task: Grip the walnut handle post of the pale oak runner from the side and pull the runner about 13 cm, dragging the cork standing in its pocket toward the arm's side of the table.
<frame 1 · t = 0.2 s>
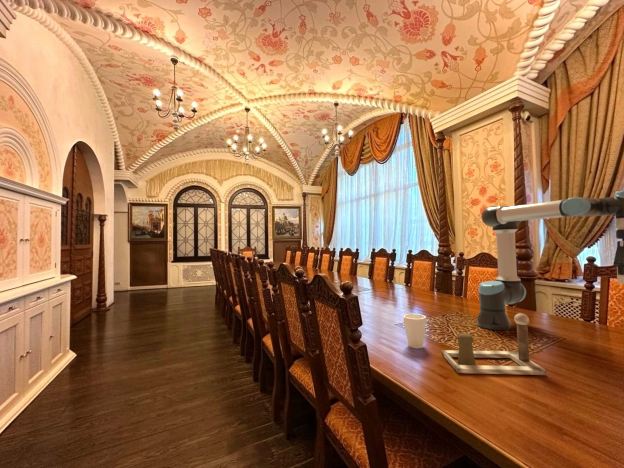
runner: (487, 338, 105), point 9 cm above the table, slide at 0.0 cm
foam cup: (415, 346, 125), on the table
cork: (466, 364, 105), resting in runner
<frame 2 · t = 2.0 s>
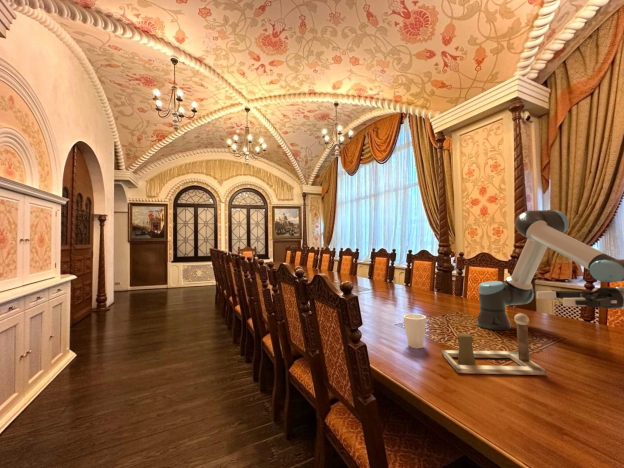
hand: (549, 298, 103), 24 cm above the table, tool horizontal, fingers open, 13 cm apart
nothing on the table moved.
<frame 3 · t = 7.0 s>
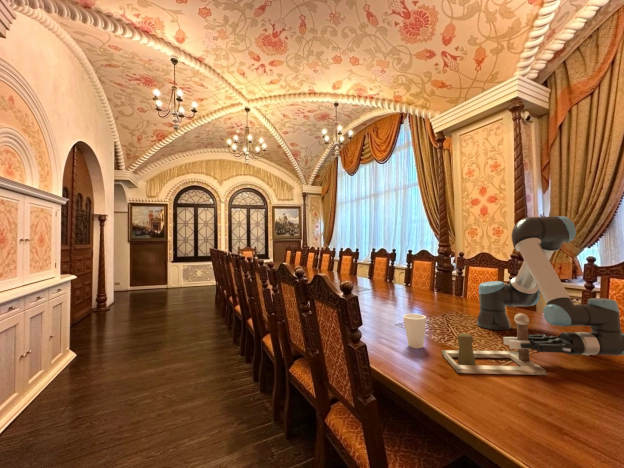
hand: (507, 342, 104), 8 cm above the table, tool horizontal, fingers closed on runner, 3 cm apart
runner: (487, 338, 105), point 10 cm above the table, slide at 0.0 cm, touching gripper
everything else where it was.
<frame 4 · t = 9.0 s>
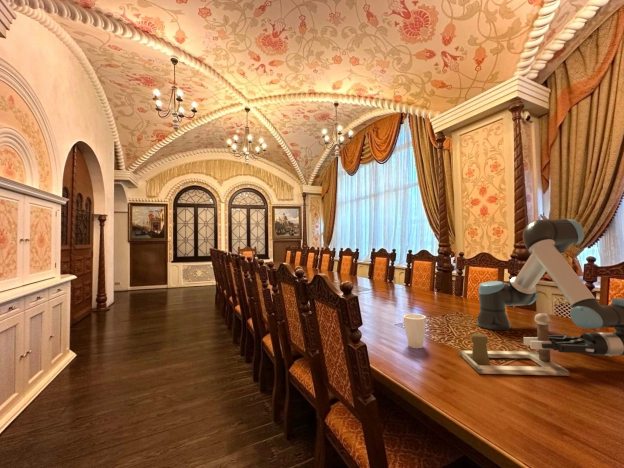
hand: (527, 342, 103), 8 cm above the table, tool horizontal, fingers closed on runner, 3 cm apart
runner: (507, 338, 104), point 9 cm above the table, slide at 6.9 cm, touching gripper, cork
cork: (480, 364, 105), resting in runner
everything else where it was.
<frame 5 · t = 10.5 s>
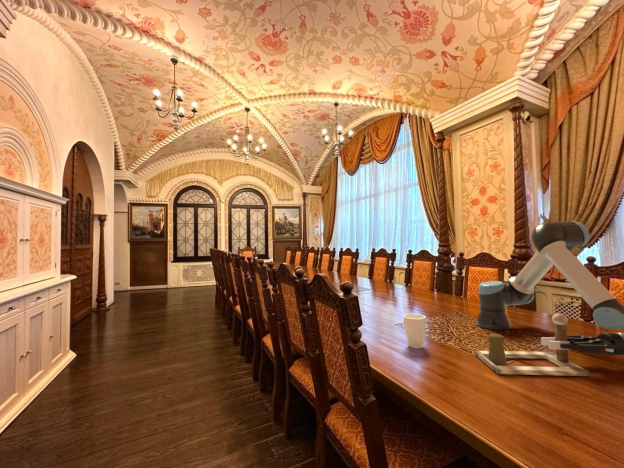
hand: (545, 343, 102), 8 cm above the table, tool horizontal, fingers closed on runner, 3 cm apart
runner: (525, 338, 103), point 9 cm above the table, slide at 12.8 cm, touching gripper, cork
cork: (497, 365, 104), resting in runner
everything else where it was.
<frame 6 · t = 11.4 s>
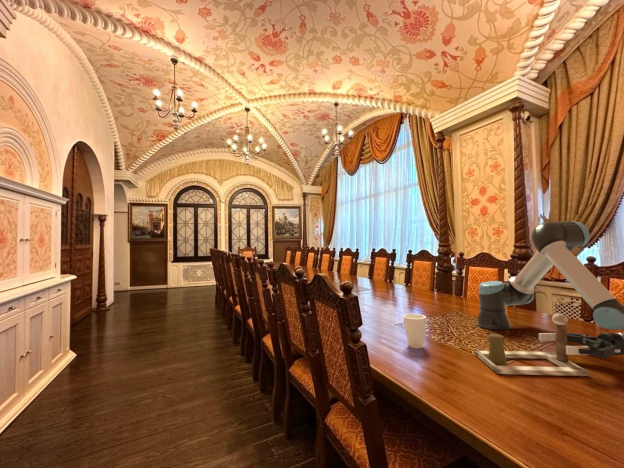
hand: (552, 343, 102), 8 cm above the table, tool horizontal, fingers open, 13 cm apart
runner: (525, 338, 103), point 9 cm above the table, slide at 12.8 cm
cork: (497, 365, 104), resting in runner
everything else where it was.
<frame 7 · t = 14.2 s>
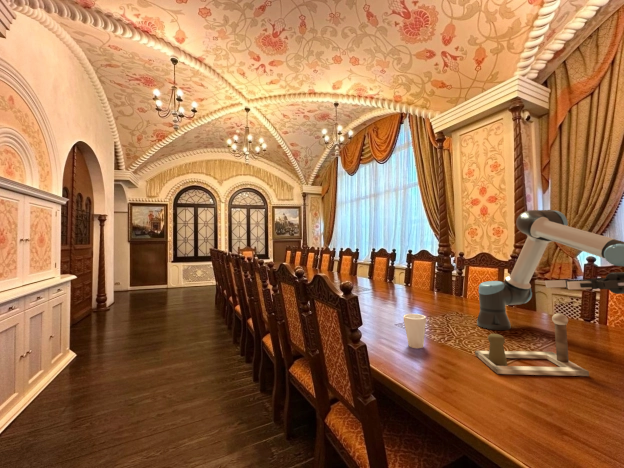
hand: (556, 284, 105), 29 cm above the table, tool horizontal, fingers open, 13 cm apart
nothing on the table moved.
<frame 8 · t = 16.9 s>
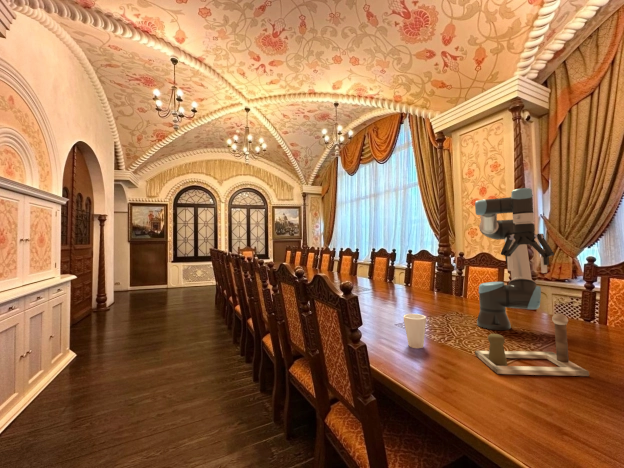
hand: (526, 271, 123), 32 cm above the table, tool pointing down, fingers open, 13 cm apart
nothing on the table moved.
at the end: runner slide at 12.8 cm; cork inside the target area (1.2 cm from its centre), resting in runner; cork tilted 0° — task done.
